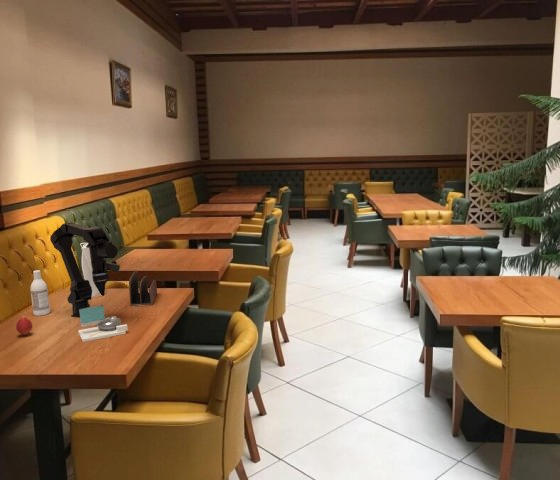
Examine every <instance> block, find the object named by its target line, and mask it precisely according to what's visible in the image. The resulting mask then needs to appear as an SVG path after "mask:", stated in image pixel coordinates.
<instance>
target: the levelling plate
mask: <svg viewBox="0 0 560 480" xmlns="http://www.w3.org/2000/svg"><path fill="white" fill-rule="evenodd" d="M128 330H129V329H128V324H121V325H120V326H116V328H114V329H109V330H101V329H98V326H93V327H89V328H83V329H79V330H77V331H78V335H79V336H80V338H81V340H82V342H83V343H85V342H91V341H96V340H99V339H100V340H101V339H105V338H110V337H115V336H120V335H125V334H126V333H127V332H126V331H128Z"/></svg>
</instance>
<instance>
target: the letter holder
mask: <svg viewBox="0 0 560 480" xmlns="http://www.w3.org/2000/svg"><path fill="white" fill-rule="evenodd" d="M148 287H149V288H148ZM157 287H158V286H157V280H156V279H154V280H152V282H151V283H150V286H148V276H147V275H145V276H143V277H142V278H141V280H140V282H139V273H138V270H135V271H133V272H132V273H131V275H130V276H129V280H128V288H129V289H128V291H129V292H128V293H129V305H130V306H135V307H139V306H138V305H150V306H152V305H153V304H152V303H154V302H153V301H155V300H156V298H155V296H156V294H157V295H158V288H157ZM156 297H157V296H156ZM154 299H155V300H154Z"/></svg>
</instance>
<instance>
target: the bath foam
mask: <svg viewBox="0 0 560 480" xmlns="http://www.w3.org/2000/svg"><path fill="white" fill-rule="evenodd" d="M30 297H31V304H32V313H33V315H34V316H36V317H37V316H45V315H46V316H47V315H49V314H50V312H51V309H50V308H51V306H50V298H49V290H48V285H47V283H46V281H44V279H43V278H42V273H41V270H39V269H38V270H33V281H32V282H31V283H30Z"/></svg>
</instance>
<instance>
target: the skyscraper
mask: <svg viewBox="0 0 560 480" xmlns="http://www.w3.org/2000/svg"><path fill="white" fill-rule="evenodd" d="M79 245H80V248H81V270H82V275H83V279H85V280H89V283H90V285H91V287H92V297H93V296H96V295H99V294H100V292H99V290H98V289H97V287H96V285H95V284H94V282H93V277H92V276H93V275H92V265H91V258H90V251H89V248H87V247H86V246H87V245H88V242H81V243H79Z"/></svg>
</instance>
